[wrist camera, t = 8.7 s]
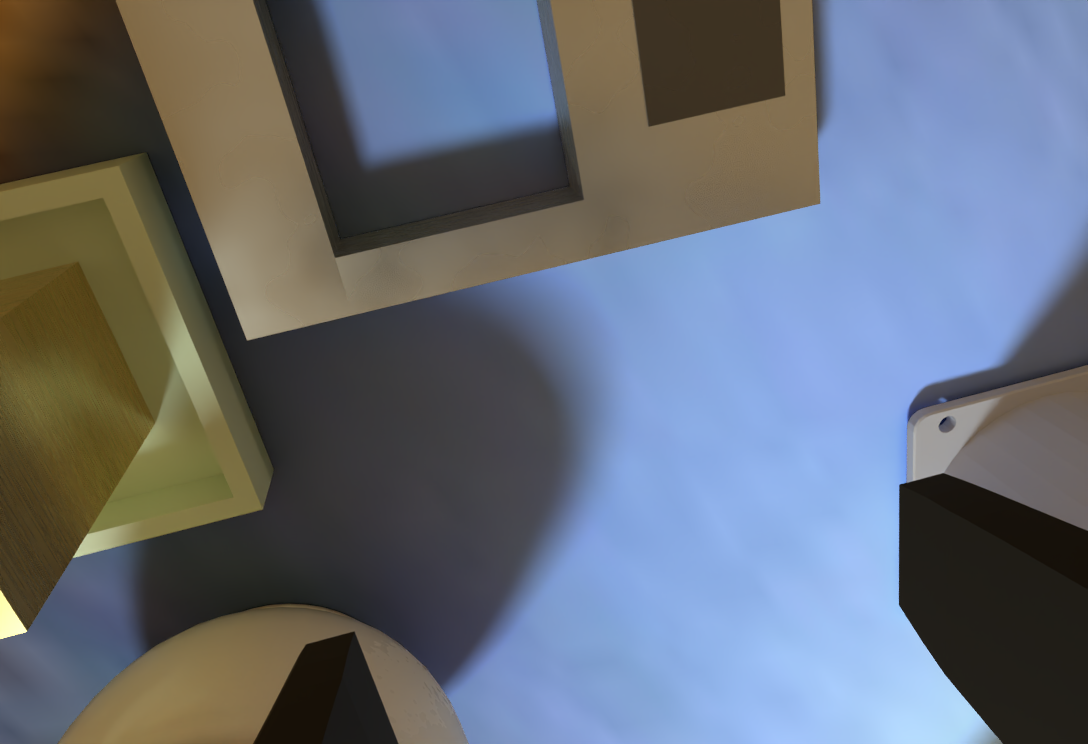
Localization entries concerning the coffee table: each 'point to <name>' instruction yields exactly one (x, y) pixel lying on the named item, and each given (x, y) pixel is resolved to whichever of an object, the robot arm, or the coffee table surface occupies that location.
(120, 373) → the upright wooden block
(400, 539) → the coffee table surface
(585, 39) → the grey rectangular frame
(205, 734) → the lidded jar
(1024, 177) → the coffee table surface
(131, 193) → the parts tray
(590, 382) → the coffee table surface
